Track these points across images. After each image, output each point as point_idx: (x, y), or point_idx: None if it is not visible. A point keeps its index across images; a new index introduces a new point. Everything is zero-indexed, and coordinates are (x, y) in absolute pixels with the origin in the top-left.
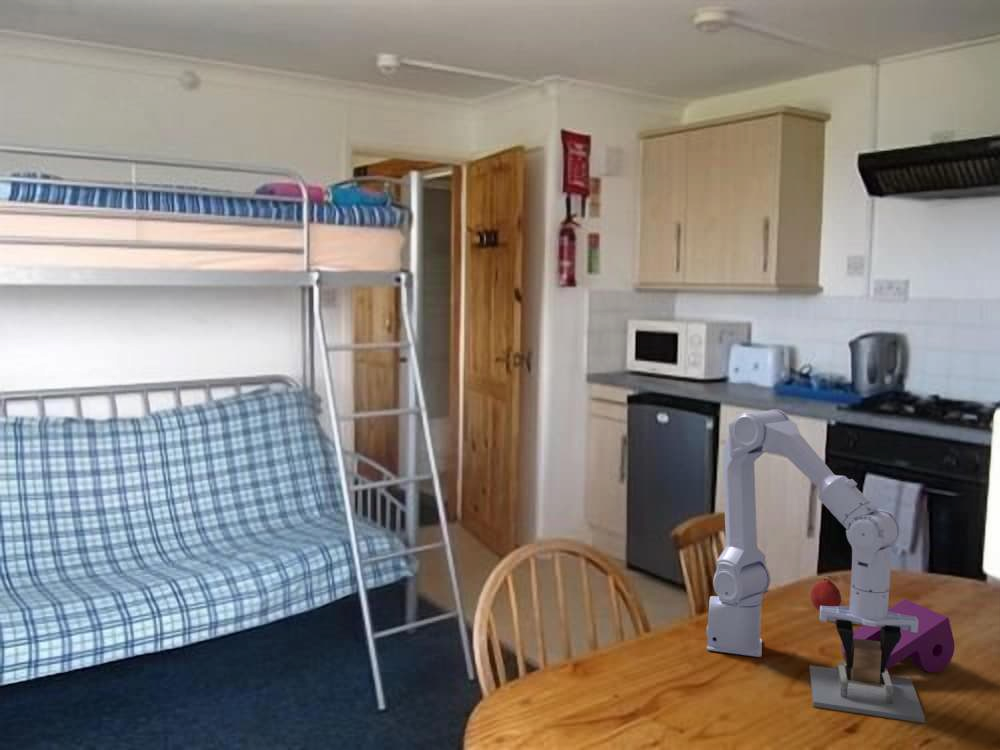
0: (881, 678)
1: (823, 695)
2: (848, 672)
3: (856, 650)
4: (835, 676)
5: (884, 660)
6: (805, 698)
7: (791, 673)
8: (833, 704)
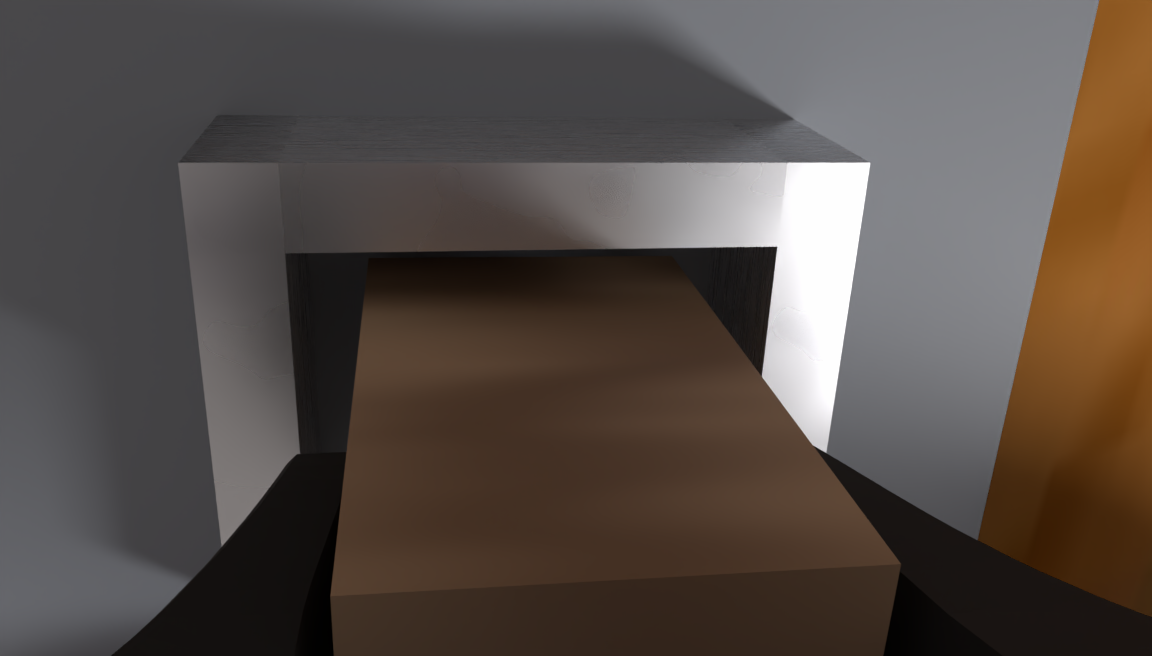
0: None
1: (971, 90)
2: None
3: (839, 528)
4: None
5: (275, 536)
6: (1110, 70)
7: (1090, 555)
8: None
